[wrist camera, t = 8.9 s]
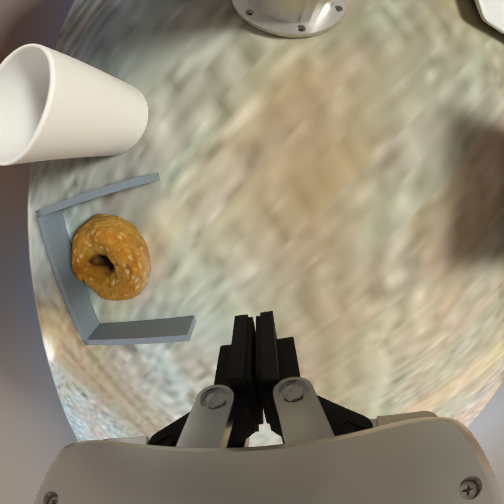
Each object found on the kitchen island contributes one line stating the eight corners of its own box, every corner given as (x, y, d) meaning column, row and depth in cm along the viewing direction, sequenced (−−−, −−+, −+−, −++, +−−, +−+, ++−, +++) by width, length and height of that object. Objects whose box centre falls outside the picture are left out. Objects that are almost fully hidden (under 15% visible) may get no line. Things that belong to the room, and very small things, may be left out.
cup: (156, 139, 26) (60, 129, 11) (93, 166, 27) (-15, 185, 12) (140, 72, 24) (50, 19, 9) (79, 103, 25) (-23, 87, 9)
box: (55, 204, 28) (35, 211, 25) (158, 172, 27) (143, 175, 24) (97, 328, 34) (84, 345, 30) (195, 321, 33) (189, 340, 29)
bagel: (85, 198, 29) (62, 206, 24) (167, 230, 30) (152, 243, 25) (74, 271, 31) (53, 286, 27) (146, 305, 33) (132, 326, 28)
